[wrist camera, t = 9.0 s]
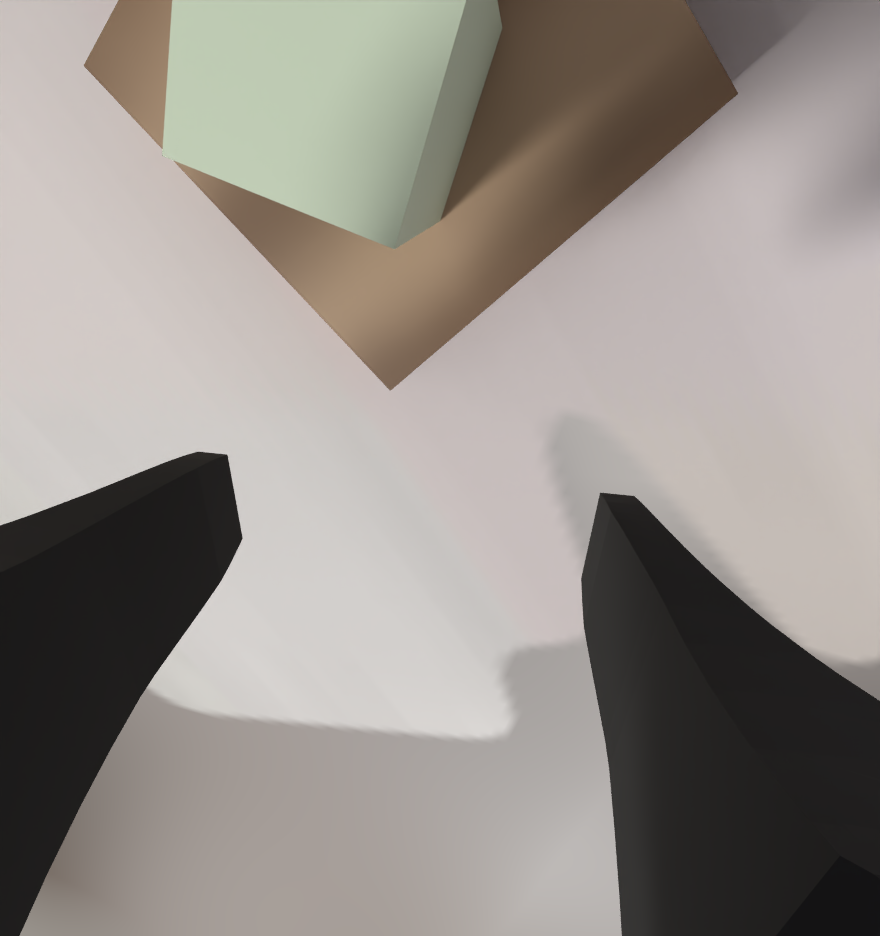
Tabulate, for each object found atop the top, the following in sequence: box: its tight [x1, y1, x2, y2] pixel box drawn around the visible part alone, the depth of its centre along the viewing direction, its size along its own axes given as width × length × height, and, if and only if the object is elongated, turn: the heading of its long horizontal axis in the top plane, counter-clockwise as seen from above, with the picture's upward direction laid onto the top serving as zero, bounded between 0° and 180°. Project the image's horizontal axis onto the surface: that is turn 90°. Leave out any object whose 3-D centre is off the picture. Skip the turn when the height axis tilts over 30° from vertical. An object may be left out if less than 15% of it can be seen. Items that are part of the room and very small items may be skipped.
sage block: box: [162, 0, 502, 249], centre depth 11 cm, size 4×4×6 cm
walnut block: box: [84, 0, 738, 390], centre depth 15 cm, size 12×12×3 cm
